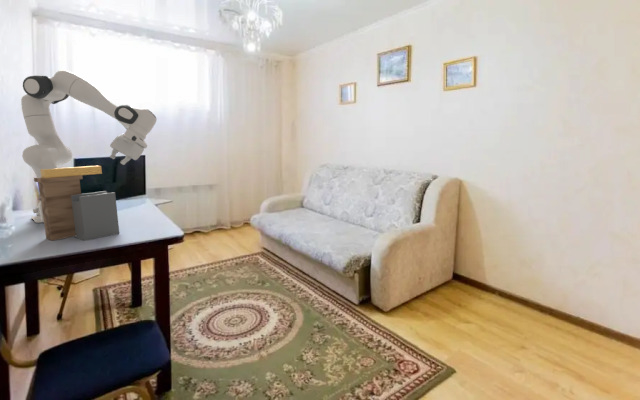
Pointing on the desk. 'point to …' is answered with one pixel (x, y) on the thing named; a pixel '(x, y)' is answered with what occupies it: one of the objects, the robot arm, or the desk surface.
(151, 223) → the desk surface
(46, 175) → the wooden block
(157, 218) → the desk surface
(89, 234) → the cradle
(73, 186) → the stand
